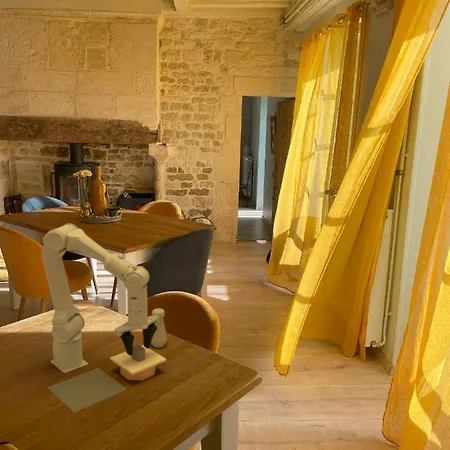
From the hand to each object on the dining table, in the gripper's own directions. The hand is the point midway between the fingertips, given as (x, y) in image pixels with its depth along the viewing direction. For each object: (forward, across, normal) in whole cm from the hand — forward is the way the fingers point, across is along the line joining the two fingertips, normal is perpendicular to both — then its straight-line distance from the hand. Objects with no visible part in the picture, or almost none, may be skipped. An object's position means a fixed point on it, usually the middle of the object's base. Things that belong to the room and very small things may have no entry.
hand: (138, 350), depth 137 cm
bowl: (+7, 0, 0) cm, 7 cm away
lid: (+3, 0, 0) cm, 3 cm away
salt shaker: (+7, +15, +10) cm, 19 cm away
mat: (+7, -16, +2) cm, 18 cm away
